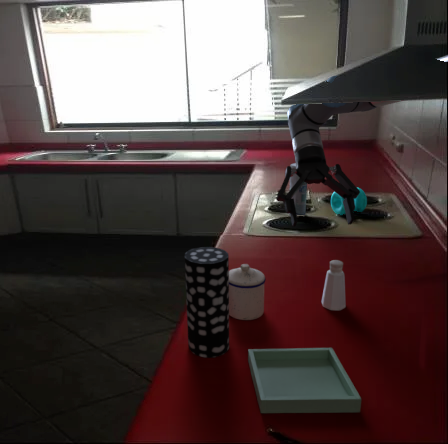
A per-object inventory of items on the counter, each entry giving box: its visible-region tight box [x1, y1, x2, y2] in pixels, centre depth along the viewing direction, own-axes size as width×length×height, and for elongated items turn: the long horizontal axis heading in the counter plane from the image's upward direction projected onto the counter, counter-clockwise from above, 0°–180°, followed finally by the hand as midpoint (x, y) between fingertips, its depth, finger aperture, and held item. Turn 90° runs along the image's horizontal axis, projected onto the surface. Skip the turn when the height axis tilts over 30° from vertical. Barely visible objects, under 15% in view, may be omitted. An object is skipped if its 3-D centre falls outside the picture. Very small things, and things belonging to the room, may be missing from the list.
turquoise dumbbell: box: [330, 187, 368, 216], centre depth 161 cm, size 10×10×10 cm
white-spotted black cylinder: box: [184, 246, 230, 359], centre depth 82 cm, size 8×8×20 cm
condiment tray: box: [247, 347, 362, 414], centre depth 73 cm, size 16×14×3 cm
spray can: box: [288, 162, 308, 216], centre depth 161 cm, size 6×6×20 cm
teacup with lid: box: [229, 263, 266, 321], centre depth 96 cm, size 12×9×12 cm
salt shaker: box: [320, 259, 347, 311], centre depth 96 cm, size 5×5×11 cm
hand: (323, 223), depth 103 cm, fingers open, 13 cm apart
